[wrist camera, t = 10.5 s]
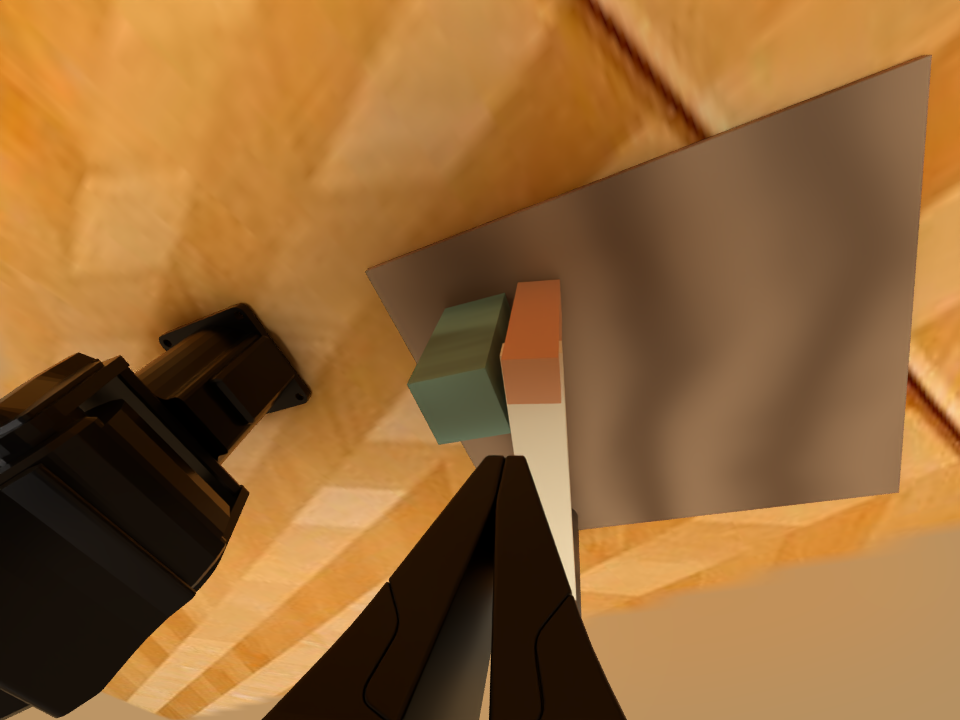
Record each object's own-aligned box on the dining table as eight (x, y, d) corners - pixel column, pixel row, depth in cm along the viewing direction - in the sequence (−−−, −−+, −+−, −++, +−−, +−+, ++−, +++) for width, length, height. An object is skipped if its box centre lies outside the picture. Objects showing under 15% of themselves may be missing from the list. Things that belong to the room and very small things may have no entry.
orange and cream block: (573, 503, 26) (576, 608, 21) (540, 502, 27) (534, 605, 21) (562, 279, 19) (561, 357, 14) (515, 282, 19) (497, 360, 14)
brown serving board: (515, 532, 30) (499, 685, 22) (368, 268, 21) (258, 378, 13) (894, 486, 23) (1053, 687, 15) (923, 55, 14) (1352, 35, 6)
